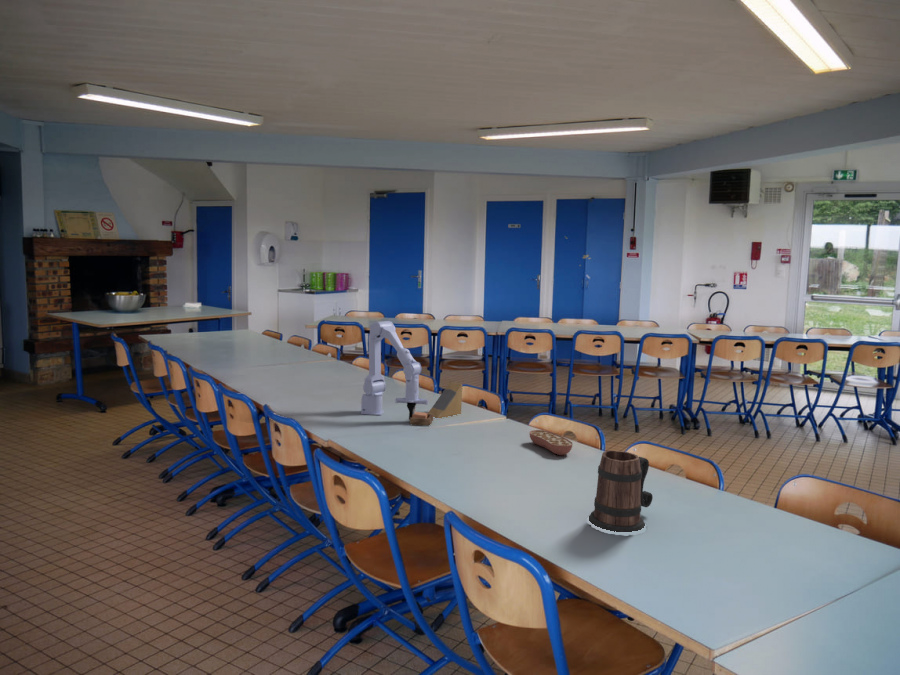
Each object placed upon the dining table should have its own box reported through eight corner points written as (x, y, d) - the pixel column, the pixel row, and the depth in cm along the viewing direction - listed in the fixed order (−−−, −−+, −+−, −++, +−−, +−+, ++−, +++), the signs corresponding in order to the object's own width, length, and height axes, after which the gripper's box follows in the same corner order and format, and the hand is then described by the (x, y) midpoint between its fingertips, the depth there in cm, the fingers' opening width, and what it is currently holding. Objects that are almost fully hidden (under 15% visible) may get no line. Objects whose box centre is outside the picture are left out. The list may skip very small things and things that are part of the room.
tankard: (622, 541, 171) (626, 468, 169) (573, 520, 184) (577, 452, 182) (673, 521, 185) (678, 454, 183) (625, 503, 199) (629, 440, 196)
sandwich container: (425, 415, 301) (425, 384, 299) (449, 411, 311) (450, 380, 310) (437, 419, 295) (438, 387, 293) (461, 414, 305) (462, 383, 303)
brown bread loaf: (524, 443, 261) (525, 431, 261) (545, 440, 265) (546, 429, 265) (556, 459, 241) (557, 446, 240) (578, 456, 245) (579, 444, 244)
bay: (409, 424, 283) (409, 418, 283) (413, 419, 293) (413, 412, 293) (429, 425, 282) (430, 419, 282) (433, 420, 292) (433, 413, 292)
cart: (411, 423, 285) (412, 409, 285) (414, 420, 291) (414, 406, 290) (425, 424, 285) (425, 410, 284) (427, 421, 291) (427, 407, 290)
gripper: (394, 390, 283) (393, 420, 285) (426, 392, 282) (425, 422, 283) (397, 387, 290) (396, 416, 292) (429, 389, 289) (428, 418, 290)
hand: (411, 419), depth 288 cm, fingers closed, pressing on cart
